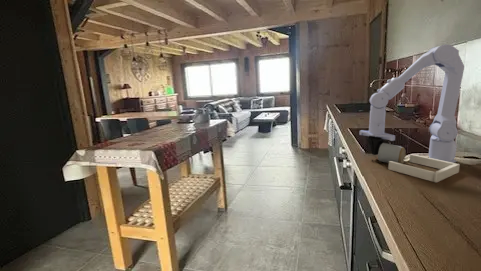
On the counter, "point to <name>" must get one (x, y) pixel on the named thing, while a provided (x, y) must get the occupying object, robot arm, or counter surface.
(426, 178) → the frame
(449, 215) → the counter surface
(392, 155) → the ceramic mug
